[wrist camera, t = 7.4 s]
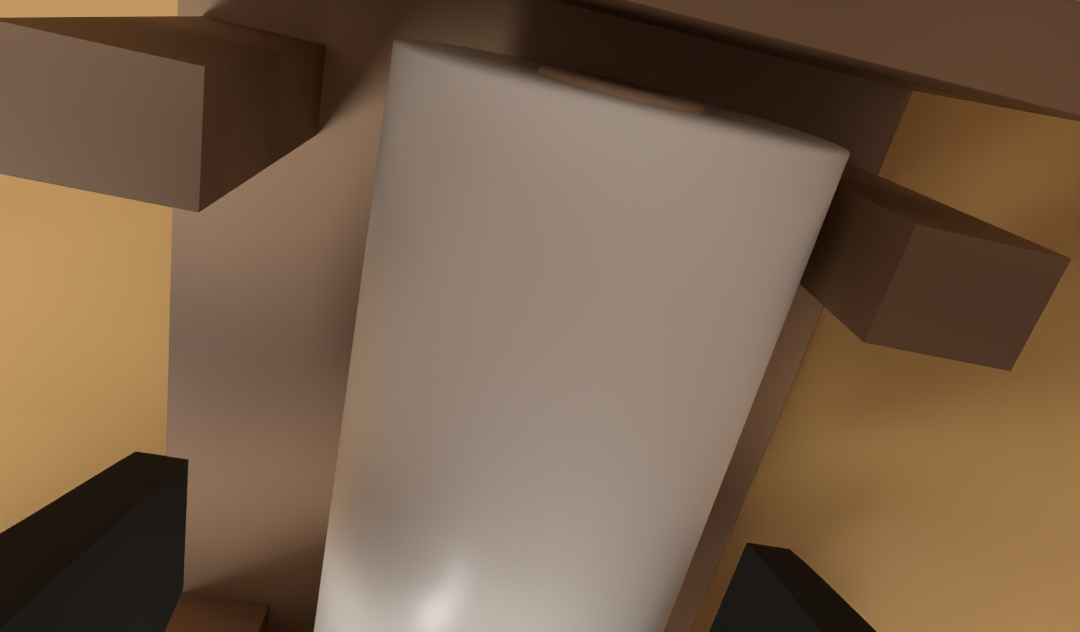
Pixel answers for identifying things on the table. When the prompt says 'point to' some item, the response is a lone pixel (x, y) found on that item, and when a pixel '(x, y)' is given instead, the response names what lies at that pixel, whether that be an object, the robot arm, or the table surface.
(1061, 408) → the table surface
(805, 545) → the table surface
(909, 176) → the table surface
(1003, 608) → the table surface
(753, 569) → the robot arm
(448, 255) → the cylinder
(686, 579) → the holder
